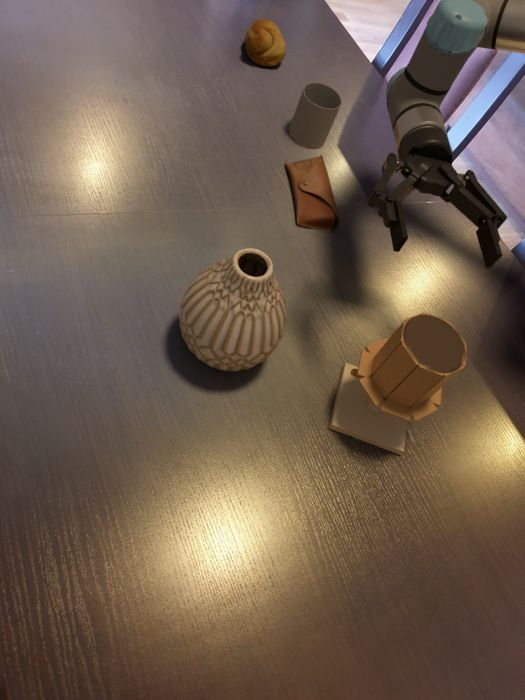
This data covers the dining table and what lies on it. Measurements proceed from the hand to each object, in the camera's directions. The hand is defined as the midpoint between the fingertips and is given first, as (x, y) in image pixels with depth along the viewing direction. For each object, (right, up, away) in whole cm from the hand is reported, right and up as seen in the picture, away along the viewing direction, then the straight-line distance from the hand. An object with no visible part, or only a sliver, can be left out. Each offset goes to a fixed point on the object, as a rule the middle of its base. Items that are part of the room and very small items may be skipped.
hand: (448, 253), depth 74 cm
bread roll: (-25, +58, +62) cm, 89 cm away
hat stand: (-7, -22, +17) cm, 29 cm away
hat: (-4, -17, +9) cm, 19 cm away
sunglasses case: (-15, +18, +40) cm, 47 cm away
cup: (-15, +34, +50) cm, 63 cm away
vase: (-31, -11, +17) cm, 37 cm away
